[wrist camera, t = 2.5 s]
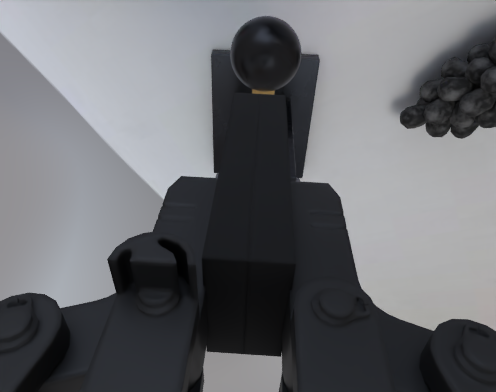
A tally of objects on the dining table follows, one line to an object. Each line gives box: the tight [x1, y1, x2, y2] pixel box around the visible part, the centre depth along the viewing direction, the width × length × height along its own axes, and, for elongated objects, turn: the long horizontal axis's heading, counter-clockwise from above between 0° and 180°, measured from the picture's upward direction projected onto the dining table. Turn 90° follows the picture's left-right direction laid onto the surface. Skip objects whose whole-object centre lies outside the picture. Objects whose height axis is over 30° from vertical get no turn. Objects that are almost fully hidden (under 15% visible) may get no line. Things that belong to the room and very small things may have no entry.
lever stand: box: [211, 50, 320, 182], centre depth 32 cm, size 12×9×13 cm
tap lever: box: [230, 16, 301, 95], centre depth 23 cm, size 15×3×3 cm, turn 178°
